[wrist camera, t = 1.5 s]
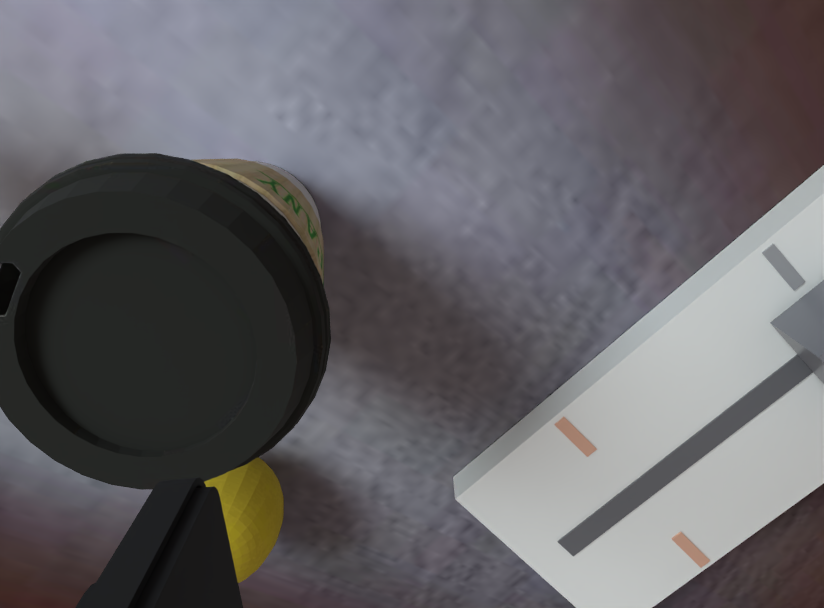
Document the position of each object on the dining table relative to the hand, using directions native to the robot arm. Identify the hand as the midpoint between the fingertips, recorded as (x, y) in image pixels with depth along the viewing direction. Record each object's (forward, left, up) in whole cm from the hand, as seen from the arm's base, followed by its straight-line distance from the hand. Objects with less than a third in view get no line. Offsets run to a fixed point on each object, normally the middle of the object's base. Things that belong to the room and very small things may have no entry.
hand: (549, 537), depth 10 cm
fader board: (-2, +16, -24) cm, 29 cm away
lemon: (+17, +2, -24) cm, 30 cm away
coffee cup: (+7, -6, -24) cm, 26 cm away
